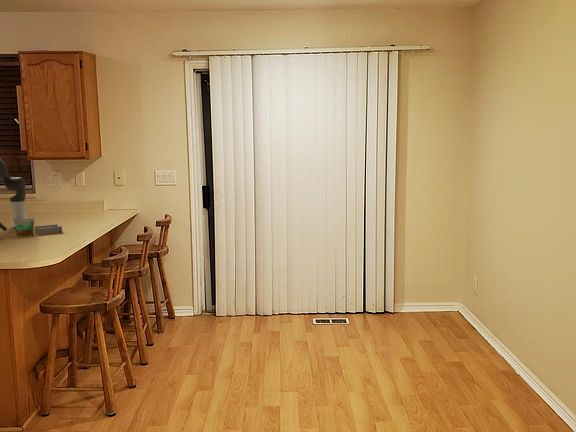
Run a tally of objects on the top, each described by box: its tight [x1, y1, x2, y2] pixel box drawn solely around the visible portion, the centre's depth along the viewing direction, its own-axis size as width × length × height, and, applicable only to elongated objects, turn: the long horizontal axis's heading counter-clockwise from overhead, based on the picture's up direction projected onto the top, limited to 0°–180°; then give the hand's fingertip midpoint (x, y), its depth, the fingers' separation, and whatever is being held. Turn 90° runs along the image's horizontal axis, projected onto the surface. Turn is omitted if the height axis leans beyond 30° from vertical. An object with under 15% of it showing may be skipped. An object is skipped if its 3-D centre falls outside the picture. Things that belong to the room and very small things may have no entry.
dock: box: [34, 223, 63, 236], centre depth 376 cm, size 12×14×4 cm
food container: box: [14, 217, 36, 236], centre depth 369 cm, size 12×6×10 cm, turn 101°
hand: (6, 229), depth 364 cm, fingers closed
